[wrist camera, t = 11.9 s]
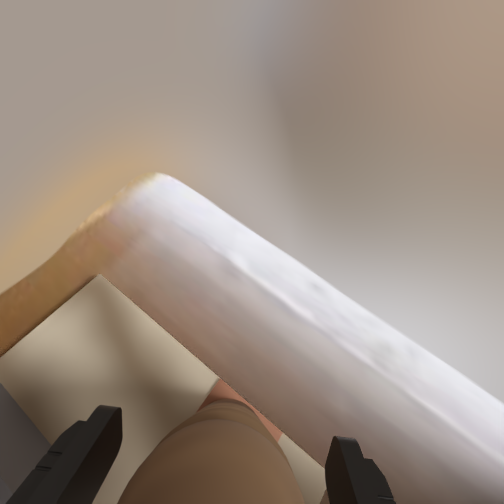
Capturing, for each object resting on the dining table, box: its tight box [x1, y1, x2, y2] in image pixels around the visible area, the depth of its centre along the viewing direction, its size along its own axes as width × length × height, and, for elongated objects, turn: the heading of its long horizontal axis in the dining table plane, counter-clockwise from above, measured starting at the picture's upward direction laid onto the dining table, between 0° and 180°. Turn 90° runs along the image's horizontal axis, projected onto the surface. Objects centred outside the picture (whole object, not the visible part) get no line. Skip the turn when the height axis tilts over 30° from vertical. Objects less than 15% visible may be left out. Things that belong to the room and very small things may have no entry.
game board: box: [0, 274, 326, 504], centre depth 14 cm, size 18×21×2 cm
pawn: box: [117, 399, 305, 504], centre depth 9 cm, size 5×5×13 cm
